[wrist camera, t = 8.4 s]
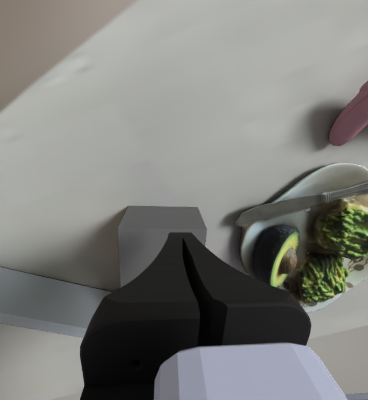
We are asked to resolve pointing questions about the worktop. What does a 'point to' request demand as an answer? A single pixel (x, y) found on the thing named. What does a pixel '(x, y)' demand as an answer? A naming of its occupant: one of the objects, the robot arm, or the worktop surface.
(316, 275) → the salad plate
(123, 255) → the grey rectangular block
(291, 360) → the robot arm
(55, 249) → the worktop surface
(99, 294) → the side door
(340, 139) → the video game controller
